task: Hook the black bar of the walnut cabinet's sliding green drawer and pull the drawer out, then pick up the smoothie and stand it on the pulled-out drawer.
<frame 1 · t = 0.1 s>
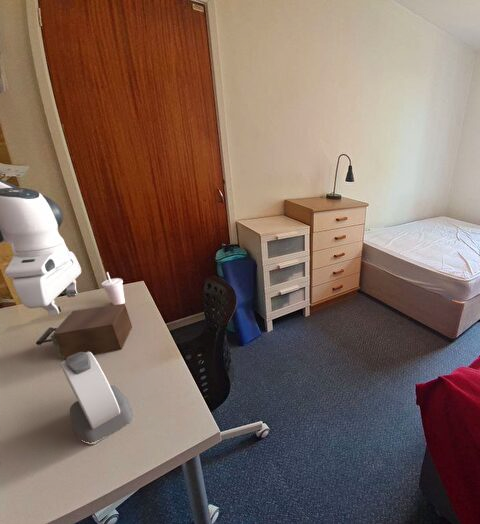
hand: (64, 304, 74), 20 cm above the table, tool pointing down, fingers open, 8 cm apart
headphone stand: (104, 418, 67), on the table
cabinet: (101, 342, 91), on the table
smoothie: (119, 303, 112), on the table
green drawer: (80, 332, 87), point 5 cm above the table, slide at 0.0 cm, touching cabinet
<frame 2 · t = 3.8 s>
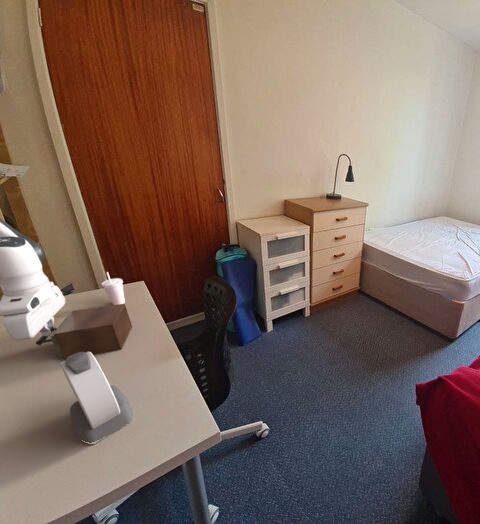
hand: (49, 333, 84), 6 cm above the table, tool pointing down, fingers closed, pressing on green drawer
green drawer: (80, 332, 87), point 5 cm above the table, slide at 0.0 cm, touching gripper
everything else where it was.
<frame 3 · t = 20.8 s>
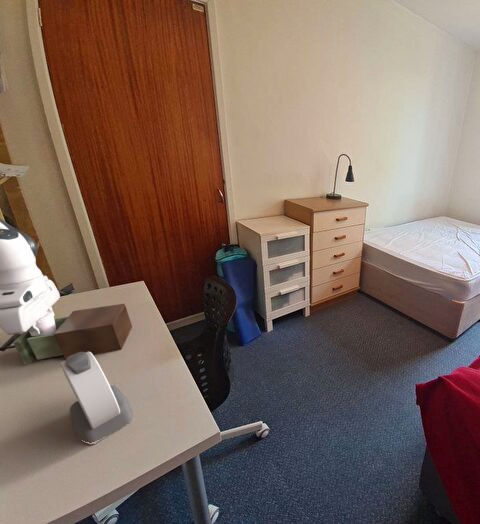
hand: (43, 328, 83), 9 cm above the table, tool pointing down, fingers closed on smoothie, 5 cm apart
smoothie: (51, 342, 85), point 3 cm above the table, touching gripper
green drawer: (47, 338, 85), point 5 cm above the table, slide at 7.8 cm, touching gripper
everything else where it was.
when the fingers open (8 cm above the table, at t = 22.5 s): smoothie moves 2 cm, resting on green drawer.
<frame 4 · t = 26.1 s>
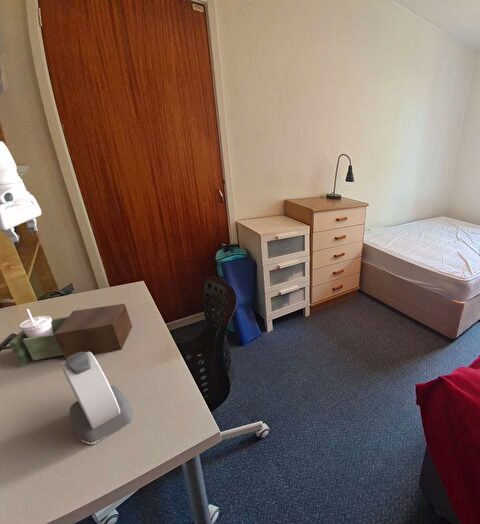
hand: (25, 236, 90), 31 cm above the table, tool pointing down, fingers open, 8 cm apart
smoothie: (47, 349, 84), point 2 cm above the table, touching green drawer
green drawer: (43, 339, 84), point 5 cm above the table, slide at 8.7 cm, touching smoothie
everything else where it was.
at the end: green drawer slide at 8.7 cm; smoothie inside the target area in the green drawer (1.7 cm from its centre), point 1.9 cm above the cabinet's base; smoothie tilted 3° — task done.
